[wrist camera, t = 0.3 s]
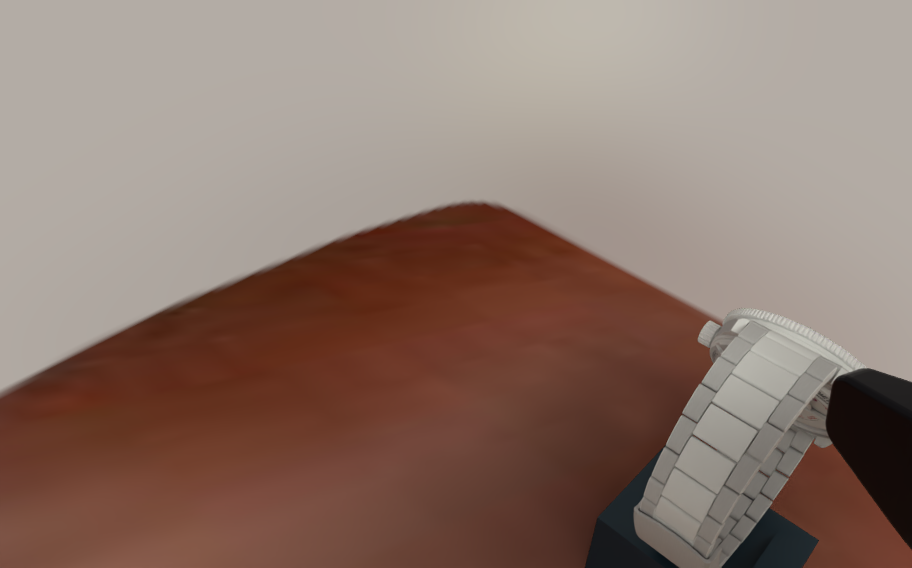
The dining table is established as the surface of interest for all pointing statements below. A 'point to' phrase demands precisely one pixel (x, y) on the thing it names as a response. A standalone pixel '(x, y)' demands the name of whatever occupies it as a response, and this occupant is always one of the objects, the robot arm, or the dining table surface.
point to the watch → (730, 455)
